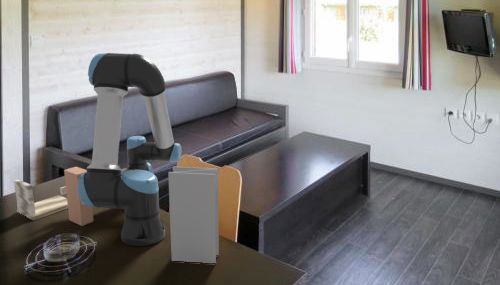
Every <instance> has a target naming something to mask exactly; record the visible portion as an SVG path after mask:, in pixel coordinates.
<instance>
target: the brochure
mask: <svg viewBox="0 0 500 285" xmlns="http://www.w3.org/2000/svg"><path fill="white" fill-rule="evenodd" d="M167 175H168V195H169V196H168V197H169V198H168V199H169V200H168V201H169V221H170V222H169V223H170V224H169V225H170V226H169V228H170V246H171V247H170V250H171V262H172V261H184V262H185V261H186V262H203V263H216V264H217V256H216V255H219V254H220V253H219V252H220V251H219V250H220V248H219V247H220V246H219V244H220V242H219V234H220V232H219V227H220V226H219V168H216V167H213V168H212V167H190V166H189V167H187V166H172V171H168V174H167ZM184 262H183V263H184Z"/></svg>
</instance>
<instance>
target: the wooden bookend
mask: <svg viewBox="0 0 500 285" xmlns="http://www.w3.org/2000/svg"><path fill="white" fill-rule="evenodd" d="M13 183H14V191H15V198H16V206H17V208H16V213H17V212H19V213H20V215H21V214H22V215H21V216H23V215H24V216H23V217H25V216H26V218H28V219H30V220H32V221H36V220H39V219H42V218H45V217H48V216H50V215H53V214H55V213H59V212H62V211H64V210H68V203H67V197H64V196H63V195H61V194H58V195H54V196H51V197H48V198H45V199H42V200H39V201H36V202H35V199H34V190H33V185H32V184H31V183H28V182H25V181H24V180H21V179H18V178H17V179H14V180H13ZM19 213H18V214H19Z"/></svg>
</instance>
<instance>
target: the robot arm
mask: <svg viewBox="0 0 500 285" xmlns="http://www.w3.org/2000/svg"><path fill="white" fill-rule="evenodd" d="M88 65H89V66H88V70H87V76H88V81H89V84H90V85H92V86H93V91H94V92H95V93H96V94H97V100H96V110H95V111H96V112H95V124H94V136H93V146H92V147H93V148H92V158H91V163H90V164H89V165H88V166H87V167H86V170H87V172H85V173H83V174H82V175H81V176H80V179H79V182H78V192H79V196H80V199H81V201H82V204H85V205H86V206H90V207H92V208H96V209H99V208H101V209H102V208H104V209H107V208H108V209H117V210H118V209H121V210H124V220H123V224H122V228H121V230H120V239H121V241H122V242H123V243H124V244H125V245H128V246H134V247H146V246H152V245H155V244H157V243H160V242H161V241H162V240H163V239H165V237H166V227H165V225H164V223H163V220H162V218H161V215H160V204H159V203H160V199H159V197H160V196H159V194H160V193H159V189H160V187H159V182H158V177H157V176H156V175H155V174H154V169H153V168H152V167H153V166H152V165H151V163H150V162H148V161H152V162H153V161H154V162H169V163H171V162H172V163H173V162H175V163H176V162H179V161H180V160H181V157H182V154H183V152H182V150H183V149H182V145H181V143H177V142H175V141H174V135H173V130H172V124H171V121H170V115H169V110H168V106H167V100H166V96H165V92H166V89H167V86H166V81H165V78H164V76H163V74H162V72H161V71H160V69H159V68H158V66H157V65H156V64H155V63H154V61H152V60H151V59H150V58H148V57H146V56H145V55H142V54H140V53H118V52H117V53H115V52H112V53H111V52H105V53H97V54H95V55H94V57H92V59H91V60H90V62H89V64H88ZM129 88H137V89H138V92H139V94H140V95H141V96H142V97H143V100H144V104H145V108H146V112H147V117H148V121H149V125H150V128H151V132H152V137H153V141H154V142H153V141H147V139H146V137H145V136H143V135H134V136H129V137H128V138H127V139H126V152H127V153H126V154H127V167H125V168H121V167H120V166H119V164H118V163H119V162H118V161H119V152H120V151H119V149H120V138H121V126H122V117H123V116H122V113H123V103H124V102H123V101H124V97H125V96H126V95H128V94H129ZM59 192H60V196H63V195H67V193H66V185H64V186H62V187H59Z"/></svg>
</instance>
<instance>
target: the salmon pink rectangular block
mask: <svg viewBox="0 0 500 285" xmlns="http://www.w3.org/2000/svg"><path fill="white" fill-rule="evenodd" d="M85 172H87V169H84V168H81V167H78V166H74V167H69V168H67V169H63V173H64V183H65V186H66V193H67V194H66V198H67V203H68V208H67V212H68V220H69V221H71V222H72V223H75V224H77V225H79V226H80V227H82V226H85V225H88V224H91V223H93V222H94V212H93V211H94V210H93V207H90V206H86V205H85V204H82V201H81V199H80V196H79V192H78V182H79V179H80V176H81V175H82V174H83V173H85Z"/></svg>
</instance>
